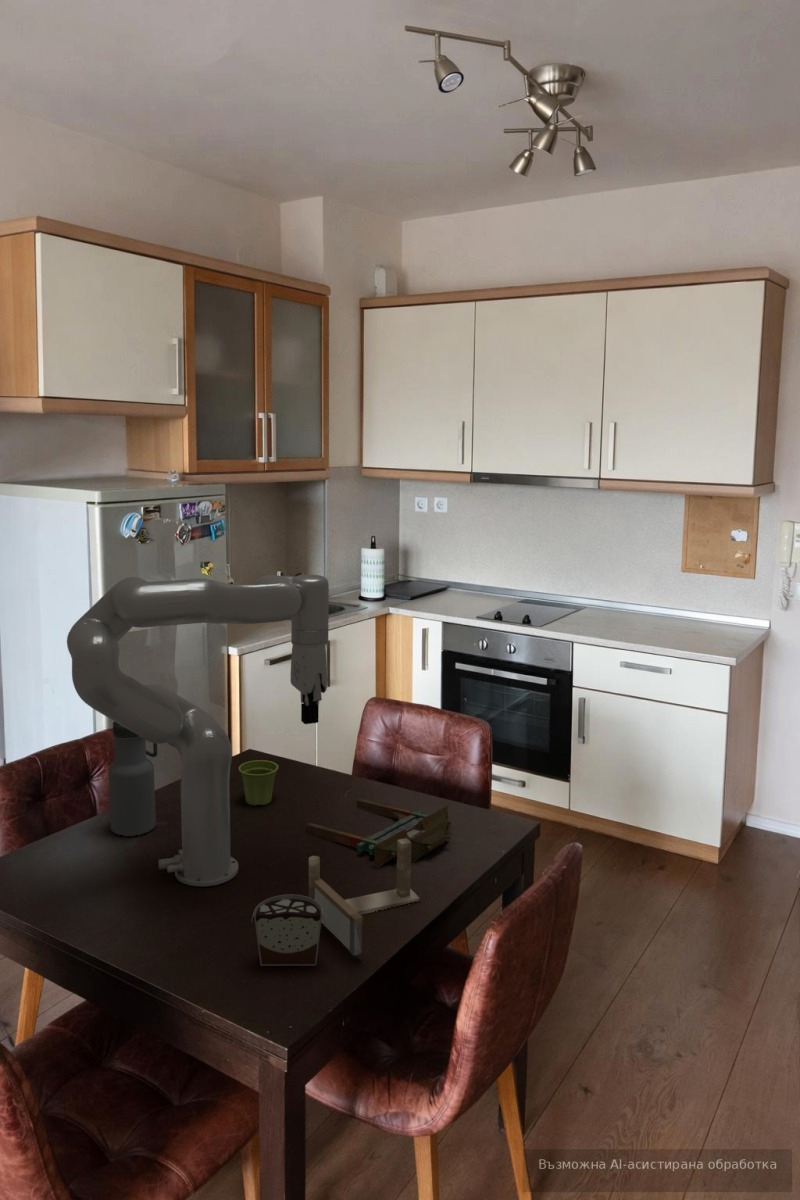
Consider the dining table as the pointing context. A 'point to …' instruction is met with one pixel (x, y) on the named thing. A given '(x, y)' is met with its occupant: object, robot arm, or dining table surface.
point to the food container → (288, 930)
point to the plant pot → (258, 781)
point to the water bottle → (131, 784)
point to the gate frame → (380, 899)
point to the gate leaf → (339, 917)
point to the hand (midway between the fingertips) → (309, 722)
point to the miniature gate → (393, 832)
